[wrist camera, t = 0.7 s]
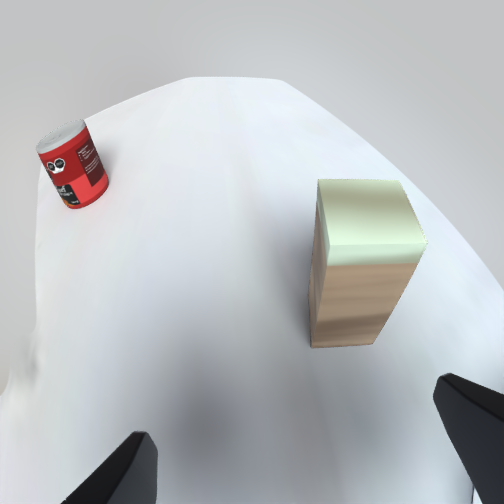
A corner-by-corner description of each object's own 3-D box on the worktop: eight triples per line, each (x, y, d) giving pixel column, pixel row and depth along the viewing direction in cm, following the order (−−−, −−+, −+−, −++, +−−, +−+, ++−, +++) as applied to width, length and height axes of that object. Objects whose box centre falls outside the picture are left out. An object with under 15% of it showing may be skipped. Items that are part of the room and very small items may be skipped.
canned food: (62, 198, 40) (33, 143, 32) (101, 172, 43) (78, 115, 35) (71, 218, 36) (37, 155, 28) (116, 188, 39) (89, 123, 31)
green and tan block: (372, 344, 22) (427, 243, 13) (311, 348, 22) (329, 245, 13) (363, 292, 25) (398, 180, 16) (308, 294, 25) (317, 179, 16)
